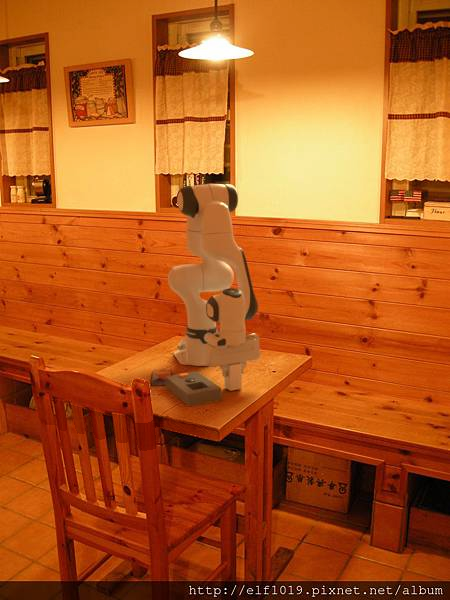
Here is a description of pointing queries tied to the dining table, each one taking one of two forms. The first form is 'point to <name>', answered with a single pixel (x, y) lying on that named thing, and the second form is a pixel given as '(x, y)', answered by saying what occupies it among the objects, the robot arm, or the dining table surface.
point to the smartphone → (159, 377)
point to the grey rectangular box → (193, 388)
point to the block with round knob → (233, 376)
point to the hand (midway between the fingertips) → (232, 375)
